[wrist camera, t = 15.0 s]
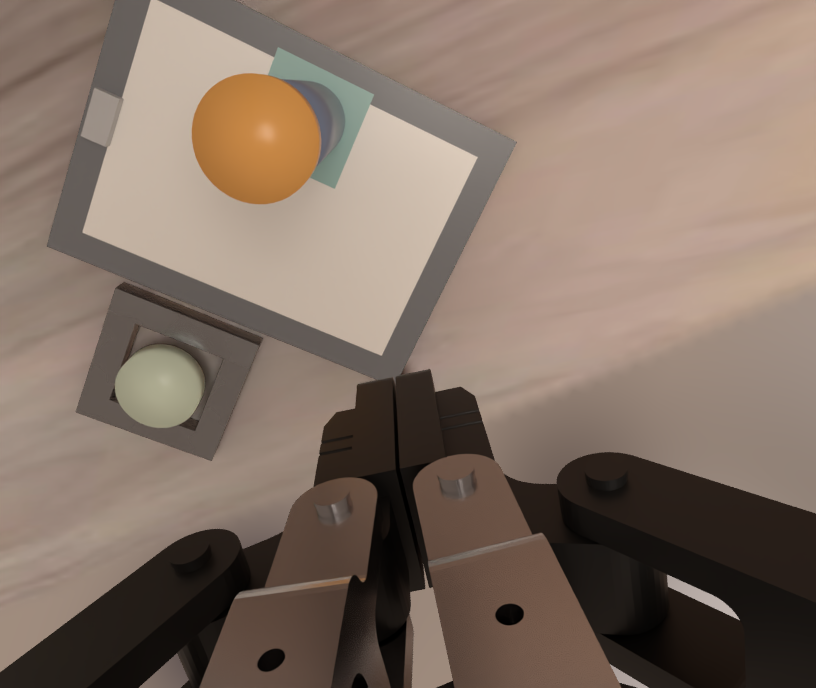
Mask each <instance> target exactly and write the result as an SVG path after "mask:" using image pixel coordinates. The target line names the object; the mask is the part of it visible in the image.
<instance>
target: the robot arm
mask: <svg viewBox="0 0 816 688" xmlns="http://www.w3.org/2000/svg"><path fill="white" fill-rule="evenodd" d="M395 380H396V385H395V381H394V379H393V377H390V378H385V379H380V380H375V381H370V382H366V383H361V384H358V385H357V394H356V406H355V409H351V410H346V411H341V412H336V413H335V415H334V416H333V417H332V418H331V419H330V420H329V422H328V423H327V424H326V425H325V426H324V430H323V435H322V441H321V442H322V444H321V447H320V452H319V454H320V456H319V458H318V464H317V470H316V475H315V481H314V487H313V488H311V489H310V490H308V491H306V492H305V493H304V494H303V495H301V496H300V497H299V498H298V499H297V500H296V501H295V503H294V504H293V506H292V508H291V510H290V514H289V516H288V519H287V522H286V525H285V528H284V531H283V532H281V533H280V534H278V535H276V536H274V537H271V538H269V539H267V540H264V541H262V542H260V543H257V544H255V545H252V546H250V547H247V548H245V549H242V546H241V543H240V540H239V539H238V537H237V535H235V534H234V533H233V532H231V531H228V530H223V529H210V530H204V531H200V532H196V533H194V534H191V535H188V536H186V537H184V538H182V539H180V540H178V541H176V542H174V543H173V544H171V545H170V546H168V547H167V548H165V549H164V550H163V551H161V552H160V553H159V554H157V555H156V556H155V557H153V558H152V559H151V560H149V561H148V562H147V563H145V564H144V565H143V566H141V567H140V568H139V569H137V570H136V571H135V572H133V573H132V574H131V575H129V576H128V577H127V578H126V579H124V580H123V581H121V582H120V583H119V584H117V585H116V586H115V587H113V588H112V589H111V590H109V591H108V592H107V593H105V594H104V595H103V596H101V597H100V598H99V599H97V600H96V601H95V602H93V603H92V604H91V605H89V606H88V607H87V608H85V609H84V610H83V611H81V612H80V613H79V614H77V615H76V616H75V617H73V618H72V619H71V620H69V621H68V622H67V623H65V624H64V625H63V626H61V627H60V628H59V629H57V630H56V631H55V632H54V633H52V634H51V635H49V636H48V637H47V638H45V639H44V640H43V641H41V642H40V643H39V644H37V645H36V646H35V647H33V648H32V649H31V650H30V651H28V652H27V653H25V654H24V655H23V656H21V657H20V658H19V659H17V660H16V661H15V662H13V663H12V664H11V665H9V666H8V667H7V668H5V669H4V670H3V671H1V672H0V688H139V687H140V686H141V685H142V684H143V683H144V682H145V681H146V680H147V679H148V678H150V677H151V676H152V675H153V674H154V673H155V672H156V671H157V670H159V669H160V668H161V667H162V666H163V665H164V664H165V663H166V662H167V661H169V659H171V658H172V657H173V656H174V655H175V654H176V653H177V654H178V656H179V659H180V661H181V663H182V665H183V668H184V670H185V672H186V674H187V677H188V679H189V681H188V682H187V683H185V685H183V686H182V687H181V688H412V665H413V636H414V633H413V632H414V631H413V625H412V621H411V618H410V614H409V613H410V607H411V602H410V601H411V600H410V592H412V591H417V590H422V589H425V579H424V568H425V572H426V576H427V580H428V584H429V587H430V588H431V587H433V589H434V594H435V598H436V603H437V608H438V613H439V617H440V622H441V627H442V631H443V636H444V641H445V645H446V650H447V655H448V659H449V664H450V669H451V673H452V678H453V681H451V682H449V683H446V684H444V685H442V686H439V687H437V688H636V687H633V686H629V685H625V684H622V683H619V682H618V680H617V678H616V676H615V674H614V672H613V670H612V668H611V666H610V664H611V665H613V666H614V667H616V668H618V669H619V670H621V671H622V672H624V673H626V674H627V675H629V676H631V677H632V678H634V679H636V680H637V681H639V682H641V683H642V684H644V685H646V686H647V687H649V688H816V514H815V513H812V512H809V511H806V510H803V509H800V508H797V507H793V506H790V505H787V504H783V503H781V502H778V501H774V500H771V499H768V498H765V497H762V496H759V495H756V494H752V493H749V492H746V491H743V490H739V489H737V488H734V487H730V486H727V485H724V484H721V483H718V482H715V481H711V480H708V479H705V478H702V477H699V476H695V475H693V474H689V473H686V472H683V471H680V470H677V469H674V468H670V467H667V466H664V465H661V464H657V463H655V462H651V461H648V460H645V459H642V458H639V457H636V456H632V455H628V454H623V453H613V452H605V453H596V454H590V455H586V456H583V457H580V458H577V459H575V460H573V461H572V462H570V463H568V464H567V465H566V466H565V467H564V468H563V469H562V470H561V471H560V473H559V475H558V477H557V484H533V483H526V482H521V481H517V480H515V479H512V478H510V477H508V476H506V475H505V474H504V473H503V471H502V469H501V467H500V466H499V464H498V463H496V462H495V460H494V456H493V454H492V450H491V447H490V444H489V440H488V437H487V434H486V431H485V427H484V424H483V422H482V418H481V415H480V412H479V408H478V405H477V402H476V398H475V396H474V395H472V394H471V393H469V392H468V391H466V390H465V389H463V388H462V387H457V388H452V389H448V390H443V391H438V392H435V388H434V383H433V378H432V374H431V370H430V369H428V370H423V371H418V372H413V373H409V374H404V375H399V376H396V377H395ZM423 564H424V568H423ZM667 575H670V576H672V577H674V578H676V579H679V580H681V581H683V582H686V583H687V584H690V585H692V586H694V587H696V588H698V589H701V590H703V591H705V592H707V593H710V594H712V595H714V596H716V597H717V598H719V599H721V600H722V601H723V602H725V603H726V604H727V605H728V606H729V607H730V608H732V610H733V611H734V612H735V613H736V615H737V616H738V617H739V619H740V620H738V619H736V618H734V617H731V616H729V615H727V614H725V613H723V612H721V611H719V610H716V609H714V608H712V607H710V606H708V605H705V604H704V603H701V602H699V601H697V600H695V599H693V598H691V597H688V596H686V595H684V594H682V593H680V592H678V591H676V590H674V589H671V588H669V587H668V583H667Z"/></svg>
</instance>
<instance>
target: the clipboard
mask: <svg viewBox="0 0 816 688" xmlns="http://www.w3.org/2000/svg"><path fill="white" fill-rule="evenodd" d="M244 73H255V74H264V75H270V76H274V77H276V78H279V79H288V80H302V81H313V82H317V83H320V84H322V85H324V86H326V87H327V88H329V89H330V90H331V91H332V92H333V93H334V94H335V95H336V96H337V98H338V99H339V101H340V103H341V105H342V107H343V110H344V115H345V128H344V132H343V136H342V138H341V140H340V141H339V143H338V144H337V146H336V147H335V148H334V149H333V150H332V151H331V152H330V153H329V154H328V155H327V156H326V157H325V158H324V159H323V160H322V161H321V162H320V163H319V165H318V166H317V167H316V168H315V170H314V172H313V173H312V175H311V177H310V178H309V179H308V180H307V181H306V183H305V184H304V185H303V186H302V187H301V188H300V189H299V190H298V191H296V192H295V193H294V194H292V195H291V196H289V197H288V198H286V199H283V200H281V201H278V202H275V203H270V204H250V203H245V202H242V201H239V200H236V199H234V198H232V197H230V196H228V195H226V194H225V193H223V192H222V191H220V190H219V189H218V188H217V187H216V186H214V185H213V184H212V182H211V181H210V180H209V179H208V178H207V177H206V175H205V174H204V172H203V171H202V169H201V167H200V166H199V164H198V161H197V159H196V156H195V153H194V149H193V144H192V122H193V118H194V114H195V111H196V109H197V106H198V104H199V103H200V101H201V99H202V98H203V96H204V95H205V94H206V92H207V91H208V90H209V89H210V88H212V87H213V86H214V85H215V84H217V83H218V82H219V81H221V80H223V79H225V78H227V77H230V76H233V75H238V74H244ZM516 143H517V142H516V141H514V140H512V139H510V138H508V137H506V136H504V135H502V134H500V133H498V132H496V131H494V130H492V129H490V128H488V127H486V126H484V125H482V124H480V123H478V122H476V121H474V120H472V119H470V118H468V117H466V116H464V115H462V114H460V113H458V112H456V111H454V110H452V109H450V108H448V107H446V106H444V105H442V104H440V103H438V102H436V101H434V100H432V99H430V98H428V97H426V96H424V95H422V94H420V93H418V92H416V91H414V90H412V89H410V88H408V87H406V86H404V85H402V84H400V83H398V82H396V81H394V80H392V79H390V78H388V77H386V76H384V75H382V74H380V73H378V72H376V71H374V70H372V69H370V68H368V67H366V66H364V65H362V64H360V63H358V62H356V61H354V60H352V59H350V58H348V57H346V56H344V55H342V54H340V53H338V52H336V51H334V50H332V49H330V48H328V47H326V46H324V45H322V44H320V43H318V42H316V41H314V40H312V39H311V38H309V37H307V36H305V35H303V34H301V33H299V32H297V31H295V30H293V29H291V28H289V27H287V26H285V25H283V24H281V23H279V22H277V21H275V20H273V19H271V18H269V17H267V16H265V15H263V14H261V13H259V12H257V11H255V10H253V9H251V8H249V7H247V6H245V5H243V4H241V3H239V2H237V1H235V0H115V3H114V6H113V10H112V13H111V17H110V20H109V24H108V28H107V31H106V35H105V38H104V42H103V46H102V49H101V53H100V56H99V60H98V64H97V67H96V71H95V74H94V78H93V82H92V85H91V89H90V92H89V96H88V100H87V103H86V107H85V110H84V114H83V118H82V121H81V125H80V128H79V132H78V136H77V139H76V143H75V146H74V150H73V154H72V157H71V161H70V164H69V168H68V172H67V175H66V179H65V182H64V186H63V189H62V193H61V197H60V200H59V204H58V207H57V211H56V215H55V218H54V222H53V225H52V229H51V233H50V236H49V240H48V243H47V247H50V248H52V249H55V250H57V251H60V252H62V253H64V254H67V255H69V256H72V257H74V258H77V259H79V260H82V261H84V262H87V263H89V264H92V265H94V266H97V267H99V268H102V269H104V270H107V271H109V272H112V273H114V274H117V275H119V276H121V277H124V278H126V279H129V280H131V281H134V282H136V283H139V284H141V285H144V286H146V287H149V288H151V289H154V290H156V291H159V292H161V293H164V294H166V295H169V296H171V297H173V298H176V299H178V300H181V301H183V302H186V303H188V304H191V305H193V306H196V307H198V308H201V309H203V310H206V311H208V312H211V313H213V314H216V315H218V316H221V317H223V318H225V319H228V320H230V321H233V322H235V323H238V324H240V325H243V326H245V327H248V328H250V329H253V330H255V331H258V332H260V333H263V334H265V335H268V336H270V337H273V338H275V339H277V340H280V341H282V342H285V343H287V344H290V345H292V346H295V347H297V348H300V349H302V350H305V351H307V352H310V353H312V354H315V355H317V356H320V357H322V358H325V359H327V360H330V361H332V362H334V363H337V364H339V365H342V366H344V367H347V368H349V369H352V370H354V371H357V372H359V373H362V374H364V375H367V376H369V377H372V378H374V379H377V380H380V379H385V378H390V377H393V379H394V381H395V385H396V380H395V377H396V376H399V375H401V373H402V371H403V369H404V367H405V365H406V363H407V361H408V359H409V357H410V355H411V353H412V351H413V349H414V347H415V345H416V343H417V341H418V339H419V337H420V335H421V333H422V331H423V329H424V327H425V325H426V323H427V321H428V319H429V317H430V315H431V313H432V311H433V309H434V307H435V305H436V303H437V301H438V299H439V297H440V295H441V293H442V291H443V289H444V287H445V285H446V283H447V281H448V279H449V277H450V275H451V273H452V271H453V269H454V267H455V265H456V263H457V261H458V259H459V257H460V255H461V253H462V251H463V249H464V247H465V245H466V243H467V241H468V239H469V237H470V235H471V233H472V231H473V229H474V227H475V225H476V223H477V221H478V219H479V217H480V215H481V213H482V211H483V209H484V207H485V205H486V203H487V201H488V199H489V197H490V195H491V193H492V191H493V189H494V187H495V185H496V183H497V181H498V179H499V177H500V175H501V173H502V171H503V169H504V167H505V165H506V163H507V161H508V159H509V157H510V155H511V153H512V151H513V149H514V147H515V145H516Z"/></svg>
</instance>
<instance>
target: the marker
mask: <svg viewBox="0 0 816 688" xmlns="http://www.w3.org/2000/svg"><path fill="white" fill-rule="evenodd" d="M344 128H345V115H344V110H343V107H342V105H341V103H340V101H339V99H338V98H337V96H336V95H335V94H334V93H333V92H332V91H331V90H330V89H329V88H327V87H326V86H324V85H322V84H320V83H317V82H313V81H302V80H288V79H279V78H276V77H274V76H270V75H264V74H255V73H244V74H238V75H233V76H230V77H227V78H225V79H223V80H221V81H219V82H218V83H217V84H215V85H214V86H213V87H212V88H210V89H209V90H208V91H207V92H206V94H205V95H204V96H203V98H202V99H201V101H200V103H199V104H198V106H197V109H196V111H195V114H194V118H193V122H192V144H193V149H194V153H195V156H196V159H197V161H198V164H199V166H200V167H201V169H202V171H203V172H204V174H205V175H206V177H207V178H208V179H209V180H210V181H211V182H212V184H213V185H214V186H216V187H217V188H218V189H219V190H220V191H222V192H223V193H225V194H226V195H228V196H230V197H232V198H234V199H236V200H239V201H242V202H245V203H250V204H270V203H275V202H278V201H281V200H283V199H286V198H288V197H289V196H291V195H292V194H294V193H295V192H296V191H298V190H299V189H300V188H301V187H302V186H303V185H304V184H305V183H306V181H307V180H308V179H309V178H310V177H311V175H312V173H313V172H314V170H315V168H316V167H317V166H318V165H319V163H320V162H321V161H322V160H323V159H324V158H325V157H326V156H327V155H328V154H329V153H330V152H331V151H332V150H333V149H334V148H335V147H336V146H337V144H338V143H339V141H340V140H341V138H342V136H343V132H344Z"/></svg>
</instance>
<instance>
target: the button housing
mask: <svg viewBox="0 0 816 688" xmlns="http://www.w3.org/2000/svg"><path fill="white" fill-rule="evenodd" d="M139 326H142V327H145V328H148V329H150V330H153V331H155V332H158V333H160V334H163V335H165V336H168V337H171V338H173V339H176V340H178V341H181V342H183V343H186V344H188V345H191V346H194V347H196V348H199V349H201V350H204V351H206V352H209V353H211V354H214V355H217V356H219V357H222V358H224V360H223V362H222V365H221V367H220V370H219V372H218V375H217V377H216V380H215V382H214V385H213V387H212V390H211V392H210V395H209V398H208V400H207V403H206V405H205V408H204V410H203V413H202V415H201V418H200V420H199V421H197V420H195V419H192V418H188V419H187V420H186V421H184V422H183V423H181V424H179V425H177V426H173V427H168V428H155V427H150V426H146V425H144V424H141V423H139V422H137V421H136V420H134V419H133V418H131V417H130V416H129V415H128V414H127V413H126V412H125V411H124V410H123V408H122V407H121V406H120V404H119V402H118V400H117V397H116V393H115V380H116V377H117V374H118V372H119V370H120V369H121V367H122V366H123V365H124V364H125V363H126V362H127V361H128V358H129V355H130V352H131V349H132V346H133V343H134V340H135V337H136V334H137V331H138V329H139ZM262 339H263V338H262V337H259V336H257V335H254V334H252V333H249V332H247V331H244V330H242V329H239V328H237V327H234V326H232V325H229V324H227V323H224V322H222V321H219V320H217V319H214V318H212V317H209V316H207V315H204V314H202V313H199V312H197V311H194V310H192V309H190V308H187V307H185V306H182V305H180V304H177V303H175V302H172V301H170V300H167V299H165V298H162V297H160V296H157V295H155V294H152V293H150V292H147V291H145V290H142V289H140V288H137V287H135V286H132V285H130V284H127V283H125V282H123V283H122V284H120V285H119V286H118V287H116V288H115V291H114V294H113V298H112V301H111V304H110V307H109V310H108V313H107V316H106V319H105V322H104V325H103V329H102V332H101V335H100V338H99V341H98V344H97V347H96V350H95V353H94V357H93V360H92V363H91V366H90V369H89V372H88V375H87V378H86V381H85V385H84V388H83V391H82V394H81V397H80V400H79V403H78V406H77V409H76V413H79V414H82V415H85V416H87V417H90V418H93V419H96V420H99V421H101V422H104V423H107V424H110V425H113V426H115V427H118V428H121V429H124V430H126V431H129V432H132V433H135V434H138V435H140V436H143V437H146V438H149V439H152V440H154V441H157V442H160V443H163V444H165V445H168V446H171V447H174V448H177V449H179V450H182V451H185V452H188V453H191V454H193V455H196V456H199V457H202V458H204V459H207V460H210V461H212V459H213V457H214V454H215V452H216V450H217V447H218V445H219V443H220V440H221V438H222V435H223V433H224V431H225V428H226V426H227V423H228V421H229V418H230V416H231V414H232V411H233V409H234V406H235V404H236V401H237V399H238V397H239V394H240V392H241V389H242V387H243V385H244V382H245V380H246V377H247V375H248V372H249V370H250V368H251V365H252V363H253V360H254V358H255V355H256V353H257V351H258V348H259V346H260V343H261V341H262Z"/></svg>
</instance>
